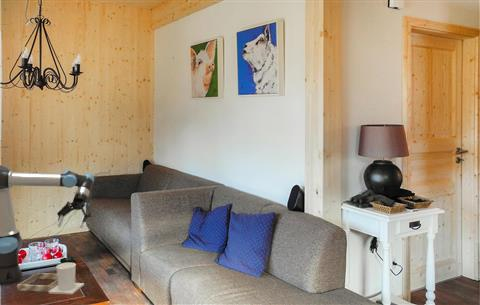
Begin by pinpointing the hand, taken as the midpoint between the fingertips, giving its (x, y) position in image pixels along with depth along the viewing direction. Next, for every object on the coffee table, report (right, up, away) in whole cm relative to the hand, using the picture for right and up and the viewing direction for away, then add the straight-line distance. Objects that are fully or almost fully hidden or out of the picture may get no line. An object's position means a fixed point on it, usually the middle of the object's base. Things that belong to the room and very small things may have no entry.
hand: (69, 226), depth 240 cm
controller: (-4, -29, +8) cm, 31 cm away
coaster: (+5, -31, -17) cm, 36 cm away
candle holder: (+5, -30, -17) cm, 35 cm away
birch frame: (-10, -31, -10) cm, 34 cm away
